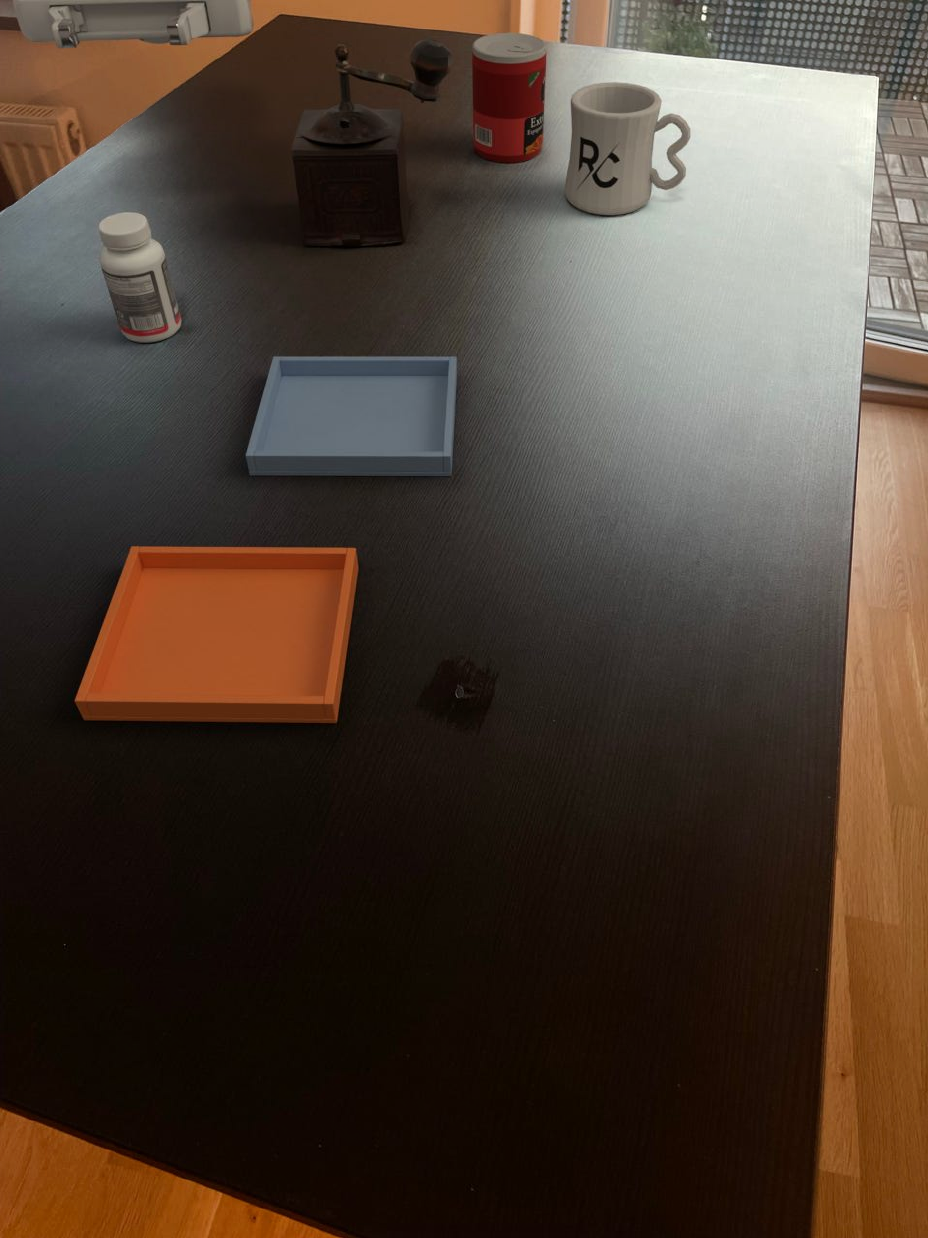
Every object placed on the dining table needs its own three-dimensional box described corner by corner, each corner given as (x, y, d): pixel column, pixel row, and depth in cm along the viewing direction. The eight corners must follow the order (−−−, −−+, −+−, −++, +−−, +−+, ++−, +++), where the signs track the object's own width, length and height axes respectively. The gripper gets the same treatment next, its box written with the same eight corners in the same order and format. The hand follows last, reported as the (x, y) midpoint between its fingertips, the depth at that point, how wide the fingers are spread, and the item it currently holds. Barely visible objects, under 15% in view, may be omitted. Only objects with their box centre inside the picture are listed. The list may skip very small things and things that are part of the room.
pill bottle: (145, 307, 92) (116, 203, 84) (194, 319, 90) (169, 214, 83) (109, 337, 88) (75, 231, 81) (159, 350, 87) (129, 242, 80)
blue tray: (249, 475, 75) (245, 455, 74) (276, 375, 84) (273, 355, 82) (451, 476, 74) (450, 456, 73) (457, 375, 83) (456, 356, 82)
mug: (554, 211, 103) (559, 110, 96) (575, 175, 109) (582, 76, 102) (672, 227, 100) (687, 124, 93) (688, 189, 106) (703, 89, 99)
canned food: (539, 165, 111) (543, 57, 103) (468, 162, 112) (466, 54, 104) (546, 137, 116) (550, 32, 108) (478, 134, 117) (477, 30, 109)
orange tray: (83, 720, 60) (74, 701, 58) (138, 566, 68) (131, 545, 67) (336, 723, 59) (333, 703, 58) (358, 567, 68) (356, 547, 67)
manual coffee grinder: (300, 250, 99) (271, 51, 85) (312, 200, 106) (287, 9, 93) (456, 248, 98) (452, 48, 85) (457, 198, 106) (453, 7, 93)
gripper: (27, -52, 90) (-20, -4, 80) (253, -58, 90) (233, -11, 80) (49, 26, 94) (8, 80, 85) (265, 20, 94) (247, 73, 85)
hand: (119, 36), depth 83 cm, fingers open, 8 cm apart
